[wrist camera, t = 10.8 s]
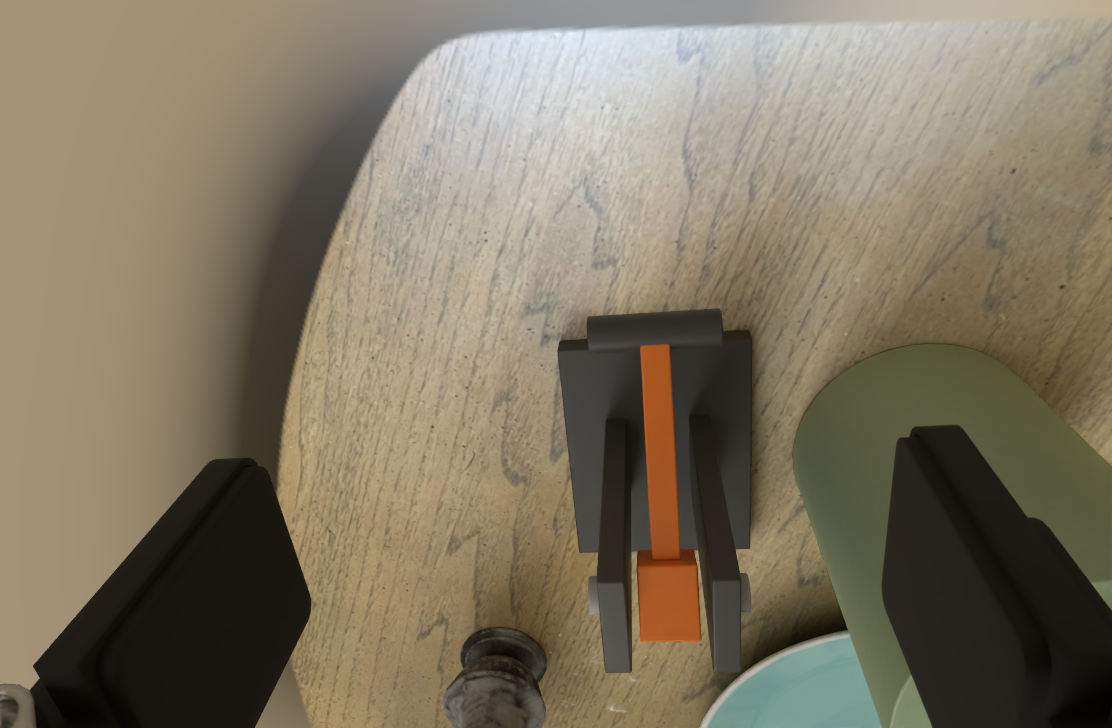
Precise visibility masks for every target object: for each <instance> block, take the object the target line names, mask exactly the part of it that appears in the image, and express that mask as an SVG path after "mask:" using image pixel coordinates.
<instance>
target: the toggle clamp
mask: <svg viewBox="0 0 1112 728" xmlns="http://www.w3.org/2000/svg"><path fill="white" fill-rule="evenodd" d="M558 360H559V370H560V379H561V388H562V397H563V406H564V416H565V425H566V434H567V443H568V452H569V462H570V471H571V480H572V489H573V498H574V507H575V517H576V526H577V535H578V544H579V552H580V553H591V552H598V566H597V576H590V577H589V579H588V604H589V612H590V614H600V623H601V633H602V643H603V653H604V663H605V671H606V673H631V671H632V578H631V552H634V551H639V550H651V539H650V521H649V502H648V483H647V465H646V446H645V427H644V409H643V390H642V371H641V353H640V351H635V352H617V353H599V354H590V353H589V349H588V340H587V339H586V340H568V341H560V342H559V347H558ZM670 360H671V378H672V397H673V416H674V434H675V453H676V472H677V490H678V509H679V528H680V546H681V549H693V550H698V553H699V561H700V568H701V576H702V584H703V592H704V600H705V608H706V616H707V624H708V632H709V640H710V648H711V656H712V664H713V670H714V672H740V671H741V612H750V610H751V592H750V584H749V578H748V575H747V574H746V573H740V571H739V566H738V560H737V555H736V550H735V549H750V524H751V428H752V338H751V335H750V333H749V331H748V330H743V331H726V332H723V344H722V346H721V347H708V348H690V349H672V350H670Z"/></svg>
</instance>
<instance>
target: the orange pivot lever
mask: <svg viewBox="0 0 1112 728" xmlns="http://www.w3.org/2000/svg"><path fill="white" fill-rule="evenodd" d="M587 340H588V349H589V353H590V354H599V353H617V352H635V351H640V353H641V371H642V390H643V409H644V427H645V446H646V465H647V483H648V502H649V521H650V539H651V550H639V551H638V554H637V581H638V600H639V618H640V637H641V641H642V642H668V641H701V624H700V605H699V587H698V568H697V563H696V558H695V554H694V551H693V549H681V546H680V528H679V509H678V490H677V472H676V453H675V434H674V416H673V397H672V378H671V360H670V350H672V349H690V348H708V347H721V346H722V344H723V324H722V315H721V310H720V309H704V310H688V311H671V312H655V313H638V314H622V315H605V316H589V317H588V318H587Z"/></svg>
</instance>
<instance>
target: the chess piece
mask: <svg viewBox="0 0 1112 728" xmlns="http://www.w3.org/2000/svg"><path fill="white" fill-rule="evenodd" d="M461 664H462V666H463V670H462V671H461V672H460V674H459V675H458V676H457V677H456V678H455V680H454V681H453V682H452V683H451V684H450V686H449V687H448V688H447V690H446V693H445V696H444V710H445V713H446V715H447V718H448V719H449V720H450V722H451V723H452V724H453V726H454V727H455V728H541V727H542V725H543V722H544V720H545V712H546V707H545V704H544V701H543V698H542V695H541V692H540V689H539V686H538V682H539V681H540V680H541V679H542V678H543V676H544V673H545V671H546V657H545V654H544V651H543V650H542V648H541V647H540V645H539V644H538V643H537V642H536V641H534V640H533V639H532V638H531V637H529V636H527V635H526V634H524V633H522V632H519V631H516V630H513V629H508V628H489V629H485V630H482V631H479V632H477V633H475V634H474V635H472V636H471V637H469V638H468V640H467V641H466V642H465V643H464V645H463V648H462V651H461Z"/></svg>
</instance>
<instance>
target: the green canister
mask: <svg viewBox="0 0 1112 728" xmlns="http://www.w3.org/2000/svg"><path fill="white" fill-rule="evenodd" d="M935 425H960V426H961V427H962V428H963V429H964V431H965V432H966V434H967V435H968V436H969V438H970V439H971V440H972V442H973V443H974V445H975V446H976V447H977V449H978V450H979V451H980V453H981V454H982V456H983V457H984V458H985V460H986V461H987V462H988V464H989V465H990V466H991V468H992V469H993V471H994V472H995V473H996V475H997V476H998V477H999V479H1000V480H1001V482H1002V483H1003V484H1004V486H1005V487H1006V488H1007V490H1008V491H1009V493H1010V494H1011V495H1012V497H1013V498H1014V499H1015V501H1016V502H1017V503H1018V505H1019V506H1020V508H1021V509H1022V510H1023V512H1024V513H1025V514H1026V516H1027V517H1028V518H1029V517H1035V518H1037V519H1040V520H1042V521H1043V522H1044V523H1045V524H1046V525H1047V526H1048V527H1049V528H1050V529H1051V531H1052V532H1053V533H1054V535H1055V536H1056V537H1057V539H1058V540H1059V541H1060V543H1061V544H1062V545H1063V547H1064V548H1065V549H1066V551H1067V552H1068V553H1069V554H1070V556H1071V557H1072V558H1073V560H1074V561H1075V562H1076V564H1077V565H1078V566H1079V568H1080V569H1081V570H1082V572H1083V573H1084V574H1085V576H1086V577H1087V578H1088V580H1089V581H1090V582H1091V584H1092V585H1093V586H1094V588H1095V589H1096V590H1097V592H1098V593H1099V594H1100V596H1101V597H1102V598H1103V600H1104V601H1105V602H1106V603H1107V605H1108V606H1109V607H1110V609H1111V610H1112V466H1111V465H1110V464H1109V463H1108V462H1107V461H1106V460H1105V459H1104V458H1103V457H1101V456H1100V455H1099V454H1098V453H1097V452H1096V451H1095V450H1094V449H1093V448H1092V447H1091V446H1090V445H1089V444H1088V443H1087V442H1086V441H1085V440H1084V439H1083V438H1082V437H1081V436H1080V435H1079V434H1078V433H1077V432H1076V431H1074V430H1073V429H1072V428H1071V427H1070V426H1069V425H1068V424H1067V423H1066V422H1065V421H1064V420H1063V419H1062V418H1061V417H1060V416H1059V415H1058V414H1057V413H1056V412H1055V411H1054V410H1053V409H1052V408H1051V407H1050V406H1049V405H1048V404H1046V403H1045V402H1044V401H1043V400H1042V399H1041V398H1040V397H1039V396H1038V395H1037V394H1036V393H1035V392H1034V391H1033V390H1032V389H1031V388H1030V387H1029V386H1028V385H1027V384H1026V383H1025V382H1024V381H1023V380H1022V379H1021V378H1019V377H1018V376H1017V375H1016V374H1015V373H1014V372H1013V371H1012V370H1011V369H1009V368H1008V367H1007V366H1006V365H1004V364H1003V363H1001V362H1000V361H998V360H996V359H994V358H993V357H991V356H989V355H987V354H984V353H981V352H979V351H976V350H973V349H969V348H965V347H961V346H955V345H947V344H919V345H910V346H904V347H900V348H895V349H891V350H888V351H885V352H882V353H879V354H876V355H874V356H871V357H869V358H867V359H865V360H863V361H861V362H859V363H857V364H855V365H854V366H852V367H850V368H849V369H847V370H845V371H844V372H843V373H841V374H840V375H839V376H837V377H836V378H835V379H834V380H832V381H831V382H830V383H829V384H828V385H827V386H826V387H825V388H824V389H823V390H822V391H821V392H820V393H819V394H818V396H817V397H816V398H815V399H814V401H813V402H812V403H811V405H810V406H809V408H808V410H807V411H806V413H805V414H804V416H803V418H802V421H801V423H800V425H799V428H798V430H797V434H796V438H795V441H794V448H793V469H794V474H795V479H796V482H797V485H798V488H799V491H800V494H801V496H802V499H803V502H804V505H805V508H806V511H807V514H808V517H809V519H810V522H811V525H812V528H813V531H814V534H815V537H816V540H817V542H818V545H819V548H820V551H821V554H822V557H823V560H824V562H825V565H826V568H827V571H828V574H829V577H830V580H831V583H832V585H833V588H834V591H835V594H836V597H837V600H838V603H839V606H840V608H841V611H842V614H843V617H844V620H845V623H846V626H847V629H848V631H849V634H850V637H851V640H852V643H853V646H854V649H855V651H856V654H857V657H858V660H859V663H860V666H861V669H862V672H863V674H864V677H865V680H866V683H867V686H868V689H869V692H870V695H871V697H872V700H873V703H874V706H875V709H876V712H877V715H878V718H879V720H880V723H881V726H882V728H932V725H931V723H930V720H929V718H928V715H927V713H926V710H925V708H924V705H923V703H922V700H921V698H920V695H919V693H918V690H917V688H916V685H915V683H914V680H913V678H912V675H911V673H910V670H909V668H908V665H907V663H906V660H905V658H904V655H903V653H902V650H901V648H900V645H899V643H898V640H897V638H896V635H895V633H894V630H893V628H892V625H891V623H890V620H889V618H888V615H887V613H886V610H885V607H884V603H883V598H882V588H881V585H882V573H883V564H884V554H885V545H886V536H887V526H888V517H889V507H890V498H891V488H892V479H893V469H894V460H895V450H896V444H897V441H898V439H899V438H900V437H909V436H910V432H911V430H912V428H914V427H915V426H935Z"/></svg>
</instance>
